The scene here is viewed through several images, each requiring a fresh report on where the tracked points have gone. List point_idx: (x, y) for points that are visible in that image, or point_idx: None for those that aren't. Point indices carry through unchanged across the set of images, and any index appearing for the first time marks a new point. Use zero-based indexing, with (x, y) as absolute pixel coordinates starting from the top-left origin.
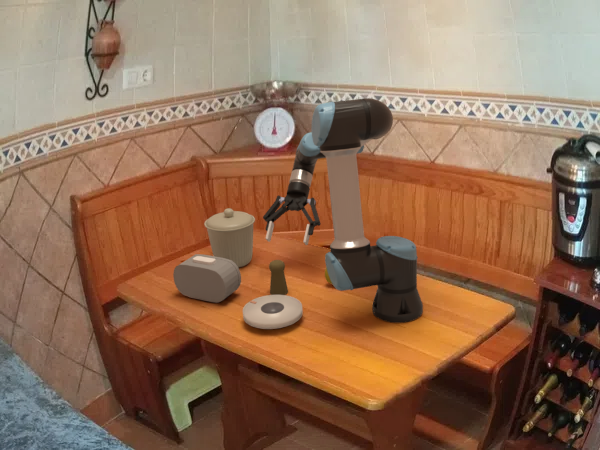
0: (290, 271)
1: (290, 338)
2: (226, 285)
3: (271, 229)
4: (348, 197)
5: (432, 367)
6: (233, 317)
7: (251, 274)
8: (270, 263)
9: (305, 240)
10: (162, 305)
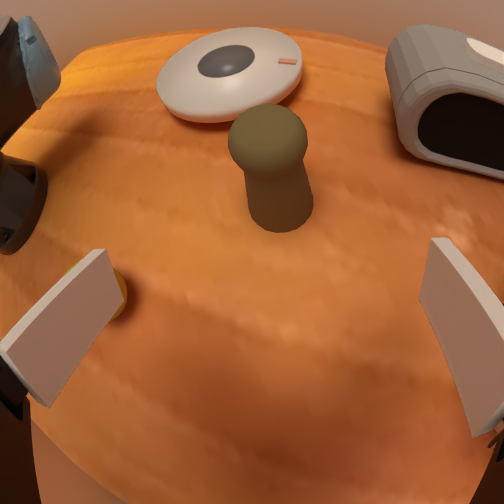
0: (306, 382)
1: None
2: (388, 57)
3: (466, 342)
4: None
5: None
6: (330, 69)
7: None
8: (291, 112)
9: (88, 255)
10: None
